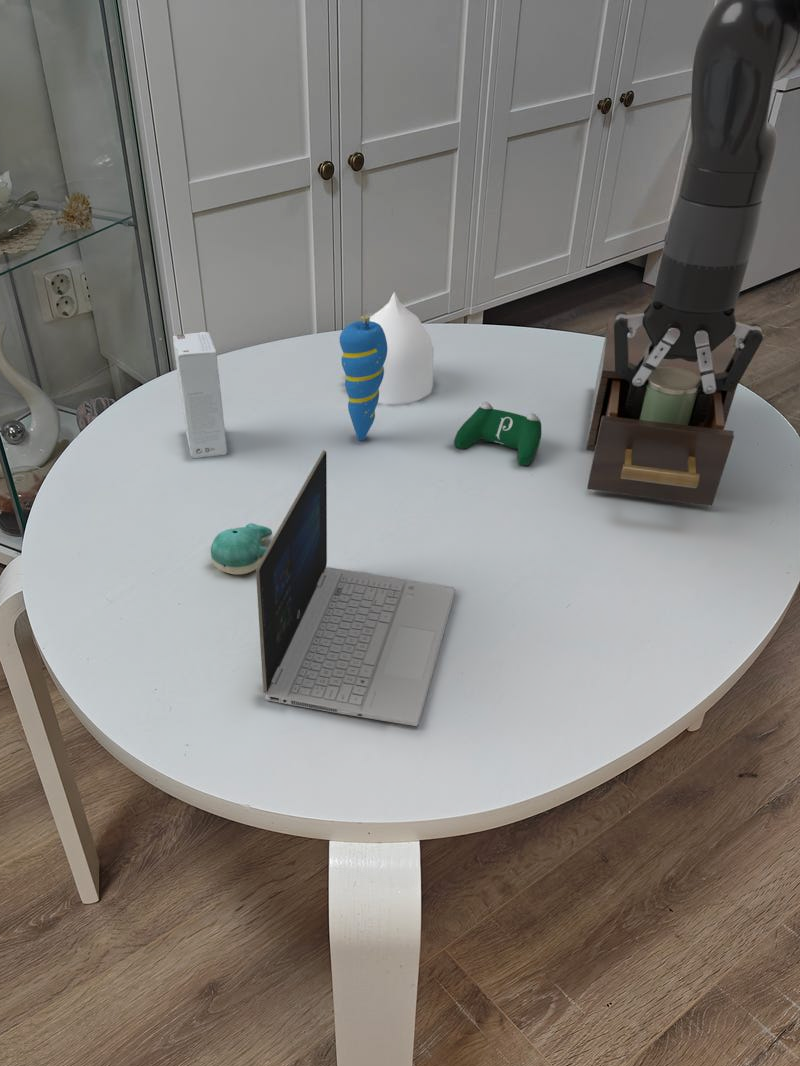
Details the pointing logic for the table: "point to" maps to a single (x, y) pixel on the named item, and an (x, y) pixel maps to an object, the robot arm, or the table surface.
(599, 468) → the drawer
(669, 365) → the cabinet
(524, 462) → the gaming controller
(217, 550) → the whale figurine
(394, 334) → the teardrop
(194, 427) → the cosmetic box
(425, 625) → the laptop
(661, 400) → the tin
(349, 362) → the ornament
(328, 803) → the table surface
